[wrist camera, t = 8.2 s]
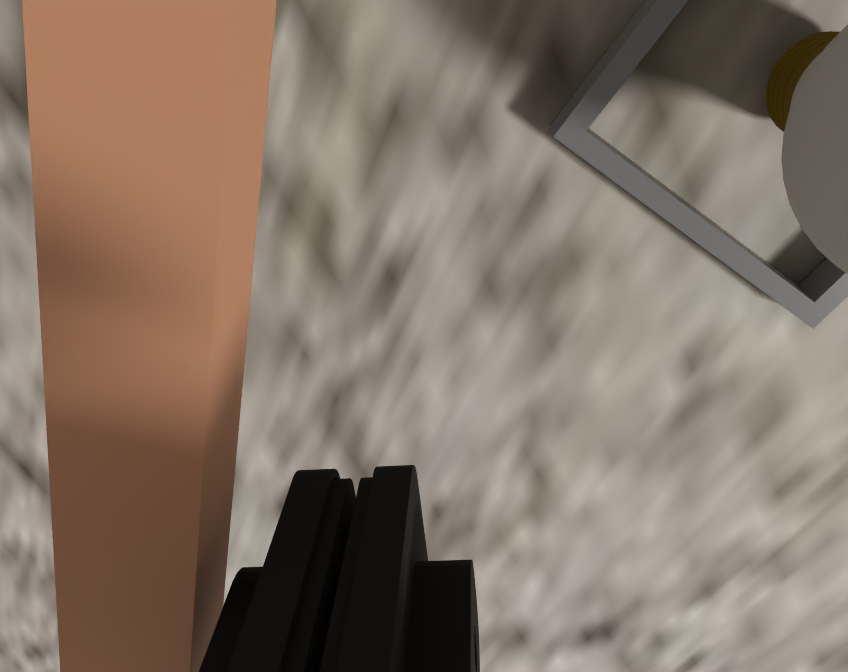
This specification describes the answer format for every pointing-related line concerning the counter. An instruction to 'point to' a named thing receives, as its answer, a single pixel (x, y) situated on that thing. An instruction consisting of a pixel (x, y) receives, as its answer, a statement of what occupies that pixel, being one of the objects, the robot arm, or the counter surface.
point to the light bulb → (815, 137)
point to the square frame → (573, 131)
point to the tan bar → (144, 307)
